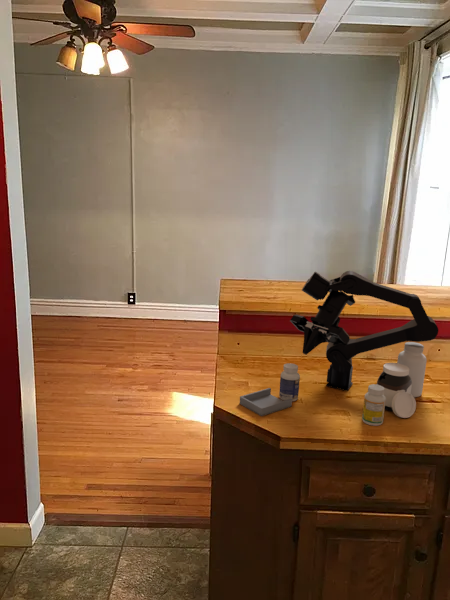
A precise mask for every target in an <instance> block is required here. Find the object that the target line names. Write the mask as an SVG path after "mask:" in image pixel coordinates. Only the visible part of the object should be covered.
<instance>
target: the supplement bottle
mask: <svg viewBox="0 0 450 600" xmlns="http://www.w3.org/2000/svg"><path fill="white" fill-rule="evenodd" d="M367 387H368V388H367V392H366V393H365V394H364V398H363V405H362V406H363V407H362V415H361V416H362V417H361V418H362V419H361V420H362V421H363V423H364V424H366V425H369V426H381V425H382V424H383V423H384V416H385V402H386V398H385V396H384V395H383V394H384V387H382V386H380V385H377V383H376V384H374V383H371V384H369V385H368V386H367Z"/></svg>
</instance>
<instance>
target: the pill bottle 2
mask: <svg viewBox="0 0 450 600" xmlns="http://www.w3.org/2000/svg"><path fill="white" fill-rule="evenodd" d="M424 350H425V346H424V344H421V343H420V342H413V341H405V342H404V347H403V350H402V351H400V352H399V353H398V355H397V362H396V363H399V364H403V365H405V366H407V367H409V374H408V375H409V376H410V377H411V380H412V387H411V394H412V395H413V397H414V398H418V397H421V396H422V395H423V390H424V389H423V388H424V381H425V374H426V367H427V357H426V355H425V354H424Z"/></svg>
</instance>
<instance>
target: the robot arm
mask: <svg viewBox="0 0 450 600" xmlns="http://www.w3.org/2000/svg"><path fill="white" fill-rule="evenodd" d="M301 291H302V292H303V293H304V294H306V295H308V296H309V297H311V298H312V299H314V300H316V301H319V300H320V301H322V300H324V299H325V298H326V299H325V300H324V301H323V304H321V305H320V304H319V305H317V307H316V308H317V310H318V312H317V313H316V314H315V316H311V317H310V319H309V320H310V321H311V322H310V321H309V320H308V319H307V317H305V316H303V315H300V314H293V315H292V317H291V318H290V320H289V322H290V323H292V325H293V326H294V327H295V328H296V329H297V330H298V331H300V332H302V333H303V344H302V346H303V347H302V353H303V355H306V356H307V355H308V354H309V353H310V352H312V351H313V350H314V349H315V348H317V347H318V346H319V345H321V344H322V343H323V344H324V343H327V345H326V349H325V350H326V351H325V356H326V359H327V361H328V362H329V363H330V364H329V368H328V369H327V377H326V387H329V388H333V389H336V390H341V391H349V390H350V388H351V387H352V385H353V384H354V383H353V381H352V379H353V369H354V366H353V358H354V357H356V356H357V355H359V354H362V353H367V352H370V351H374V350H378V349H382V348H385V347H389V346H393V345H396V344H401V343H406V342H415V343H420V342H429V341H432V340H435V339H436V338H437V337H438V334H439V327H438V325H437V323H436V322H435V320H434V319H433V318H432V317H430V316H429V315H428V314H427V312H426V310H425V308H424V307H423V304H422V300H421V299H420V297H419V296H418V295H417V294H415V293H410V292H406V291H403V290H400V289H396V288H393V287H390V286H387V285H384V284H380V283H377V282H374V281H372V280H370V279H369V278H366V277H365V276H363V275H361V274H359V273H357V272H356V271H353V270H347V271H345V272H343V273H341V275H340V276H338V277H336V278H333V279H329V280H328V279H327V278H326V277H324V276H322V275H321V274H320V273H319V272H317V271H314V272H313V274H312V275H311V276H310V278H308V279H307V280H306V282H305V284H304V285H303V287H302V289H301ZM326 296H327V297H326ZM354 296H367V297H371V298H375V299H378V300H381V301H385V302H388V303H391V304H394V305H397V306H400V307H403V308H406V309H409V311H410V313H411V315H412V317H413V319H411V320H410V321H408V322H407V323H405V324H403V325H402V326H399V327H395V328H392V329H388V330H384V331H380V332H375V333H373V334H368V335H365V336H362V337H358V338H350V335H349V334H348V332H347V331H346V330H345V329H344V328H343V327H342V326H339V323H340V322H341V317H340V315H341V314H342V312H343V310H344V308H345V306H346V305H348V306H349V307H351V306H353V305H354V304H355V303H356V300H355V298H354Z"/></svg>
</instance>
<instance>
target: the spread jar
mask: <svg viewBox="0 0 450 600" xmlns="http://www.w3.org/2000/svg"><path fill="white" fill-rule="evenodd" d="M408 374H409V367H407V366H405V365H403V364H399V363H397V362H386V363H384V364H383V368H382V372H381V373H380V375H379V376H378V378H377V381H376V385H380V386H382V387H384V394H383V395H384V396H385V398H386V402H385V410H386V411H389V412H393V413H394V414H395V416H397V417H398V418H404V419H406V418H410V417H412V416H413V415H414V414H415V412H416V408H417V402H416V397H413V395H412V394H411V387H412V380H411V377H410V376H409V375H408ZM385 410H384V411H385Z"/></svg>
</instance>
